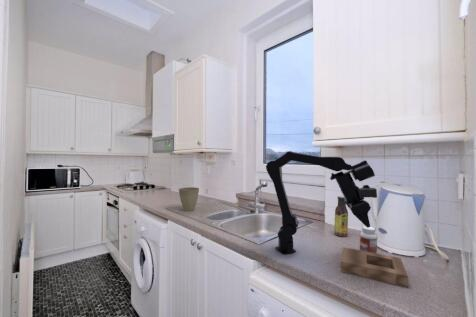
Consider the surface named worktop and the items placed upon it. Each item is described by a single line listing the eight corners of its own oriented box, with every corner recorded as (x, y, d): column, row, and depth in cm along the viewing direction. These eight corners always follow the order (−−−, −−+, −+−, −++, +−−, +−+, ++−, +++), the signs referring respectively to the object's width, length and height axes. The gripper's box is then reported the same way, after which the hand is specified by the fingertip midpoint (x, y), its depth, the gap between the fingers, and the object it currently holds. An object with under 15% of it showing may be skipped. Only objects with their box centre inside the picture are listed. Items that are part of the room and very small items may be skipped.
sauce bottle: (343, 238, 110) (344, 198, 109) (331, 234, 115) (332, 196, 114) (350, 235, 113) (350, 197, 113) (338, 231, 119) (339, 195, 118)
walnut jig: (340, 271, 78) (340, 261, 78) (343, 255, 90) (343, 247, 90) (407, 287, 68) (407, 276, 68) (400, 267, 81) (400, 258, 81)
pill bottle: (356, 251, 94) (356, 225, 94) (369, 250, 95) (370, 225, 95) (366, 257, 88) (366, 230, 88) (380, 257, 89) (380, 230, 89)
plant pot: (186, 206, 174) (186, 186, 173) (202, 208, 168) (202, 188, 168) (174, 211, 160) (174, 189, 160) (191, 213, 154) (191, 190, 154)
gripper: (375, 180, 76) (397, 223, 74) (363, 176, 93) (380, 210, 91) (342, 192, 79) (363, 234, 77) (337, 186, 97) (353, 219, 95)
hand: (365, 223), depth 85 cm, fingers open, 9 cm apart
